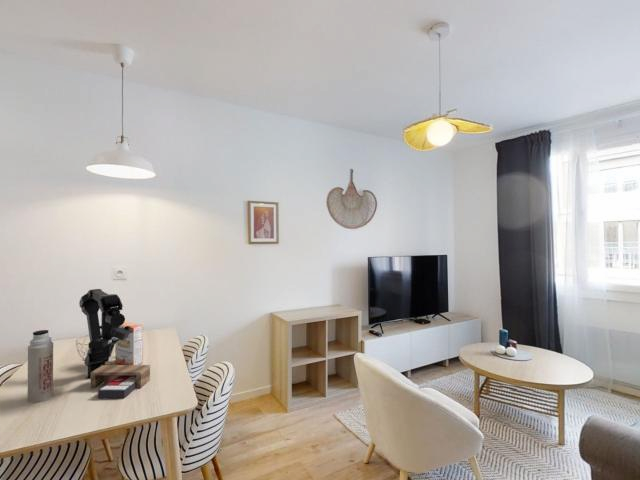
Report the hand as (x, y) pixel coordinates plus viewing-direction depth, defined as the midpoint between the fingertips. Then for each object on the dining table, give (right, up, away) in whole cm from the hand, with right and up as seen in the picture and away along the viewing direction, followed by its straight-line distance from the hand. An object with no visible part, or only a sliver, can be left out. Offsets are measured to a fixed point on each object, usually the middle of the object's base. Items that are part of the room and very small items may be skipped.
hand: (108, 356), depth 143 cm
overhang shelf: (+5, -13, +1) cm, 14 cm away
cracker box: (-6, -13, +25) cm, 29 cm away
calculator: (+8, -14, -4) cm, 17 cm away
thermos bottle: (-21, -13, -12) cm, 27 cm away
